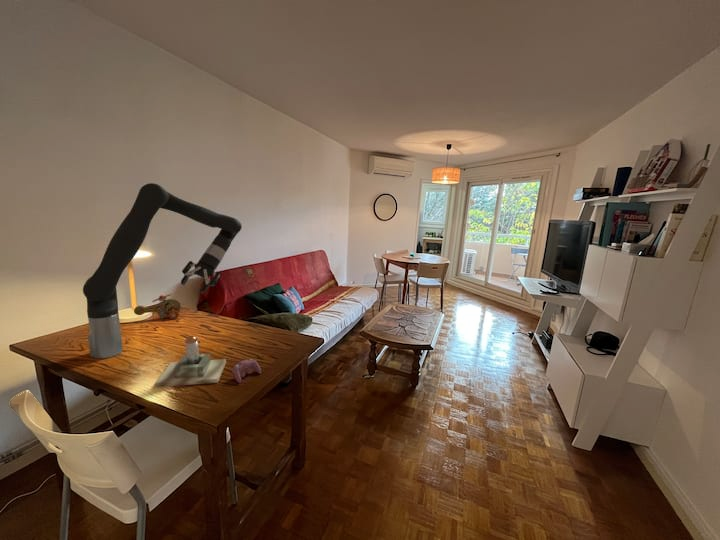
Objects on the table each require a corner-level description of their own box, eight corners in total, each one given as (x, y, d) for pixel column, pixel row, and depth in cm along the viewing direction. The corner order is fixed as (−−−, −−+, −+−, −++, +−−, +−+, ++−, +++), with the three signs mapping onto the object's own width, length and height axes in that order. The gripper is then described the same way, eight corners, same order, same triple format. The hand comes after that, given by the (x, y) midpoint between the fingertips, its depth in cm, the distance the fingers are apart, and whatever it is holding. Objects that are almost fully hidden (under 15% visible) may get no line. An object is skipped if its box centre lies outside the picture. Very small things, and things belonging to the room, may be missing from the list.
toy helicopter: (181, 318, 157) (179, 294, 154) (134, 324, 146) (131, 299, 143) (181, 313, 164) (179, 290, 161) (136, 318, 153) (133, 294, 150)
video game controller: (257, 373, 114) (252, 356, 114) (263, 372, 111) (258, 355, 112) (233, 384, 106) (228, 365, 107) (239, 383, 103) (234, 365, 104)
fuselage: (186, 373, 106) (183, 338, 103) (189, 367, 109) (187, 334, 107) (197, 372, 107) (195, 338, 104) (201, 366, 110) (199, 333, 107)
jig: (155, 387, 99) (154, 372, 98) (171, 365, 113) (170, 352, 111) (217, 382, 104) (217, 369, 103) (226, 362, 117) (225, 350, 116)
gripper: (194, 246, 123) (172, 279, 117) (225, 260, 124) (204, 293, 117) (200, 253, 130) (179, 284, 124) (229, 266, 131) (210, 297, 124)
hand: (191, 288), depth 121 cm, fingers open, 8 cm apart
